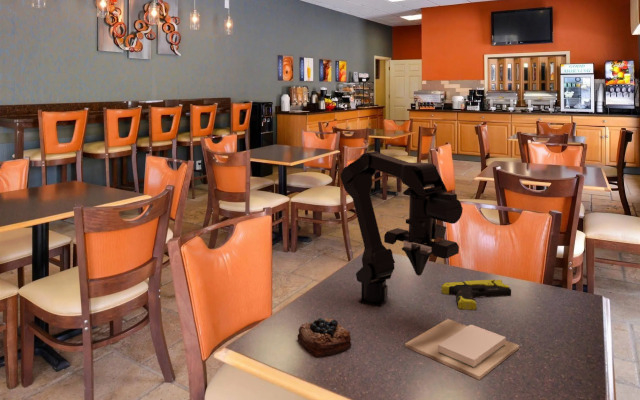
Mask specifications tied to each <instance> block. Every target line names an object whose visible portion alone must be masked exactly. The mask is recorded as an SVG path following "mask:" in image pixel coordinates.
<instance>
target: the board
mask: <svg viewBox="0 0 640 400" xmlns="http://www.w3.org/2000/svg"><path fill="white" fill-rule="evenodd" d="M467 326H468V325H465V324H464V323H460V322H458V321H455V320H452V319H449V318H447V319H445V320H444V321H442V322H440V323H438V324H437V325H435V326H433V327H432V328H429V329H427V330H426V331H424V332H423V333H421V334H419V335H417V336H415V337H414V338H412V339H411V340H409V341H407V342H405V344H404V347H405V348H406V349H407V348H408V349H409V350H410V351H414V352H416V353H418V354H420V355H422V356H425V357H428V358H429V359H432V360H434V361H436V362H438V363H440V364H443V365H445V366H447V367H449V368H452V369H454V370H456V371H458V372H461V373H462V374H465V375H467V376H470V377H472V378H474V379H477V381H478V380H479V381H480V380H481V379H482V378H484V377H485V376H487V374H489V373H490V372H491V371H492V370H494V369H495V368H497V367H498V366H499V365H500V364H501V363H503V362H504V361H505V360H506V359H508V358H509V357H511V356H512V355H513V354H514V353H516V352H517V351H518V350H519V349H520V345H519V344H517V343H514V342H511V341H508V340H506V342H505V344H504V346H502V347H501V348H500V349H498V350H497V351H496V352H494V353H493V354H492V355H490V356H489V357H487V358H486V359H485V360H483V361H482V362H481V363H479V364H478V365H477V366H475V367H471V366H469V365H467V364H464V363H462V362H460V361H457V360H455V359H453V358H451V357H448V356H446V355H444V354H441V353H439V352H438V345H439V344H440V343H442V342H443V341H445V340H447V339H448V338H450V337H451V336H453V335H455V334H456V333H458V332H459V331H461V330H463V329H464V328H466V327H467Z"/></svg>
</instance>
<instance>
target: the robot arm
mask: <svg viewBox="0 0 640 400" xmlns="http://www.w3.org/2000/svg"><path fill="white" fill-rule="evenodd" d="M377 172H382V173H384V174H387V175H390V176H392V177H395V178H398V179H399V180H401V182H402V184H403V185H405V186H406V187H408V188H406V189H405V190H404V191H403V192H402V195H404V196H409V206H408V207H409V208H408V209H409V211H408V212H409V213H408V218H406V219H405V224H406V225H408V230H407V229H403V228H399V227H397V228H393V229H391V230H390V229H389V230H387V231H386V232H385V234H384V235H383V238H384V240H383V241H384V243H385V244H389V245H395V244H396V243H397V241H400V242H403V247H401V251H403V252H404V253H405V254H406V256H407V258H408V260H409V262H410V264H411V266H412V268H413V270H414V272H415V275H416V276H418V277H419V276H422V274H423V272H424V270H425V268H426V265H427V263H428V261H429V259H430V257H431V256H432V255H433V257H436V258H440V259H449V258H451V257H454V256H456V255H458V254H459V253H460V252H459V250H460V246H459V244H458V242H456V241H452V240H448V239H445V235H446V232H447V226H445V225H441V224H437V221H440V222H444V223H447V224H451V225H454V224H456V223H457V222H458V221H460V219H461V218H462V215H463V206H462V203H461V201H460V200H459V199H458V195H457V193H453V192H452V193H448V189H447V187H446V184H445V183H444V180H443V179H442V177H441V174H440V173H439V171H438V168H437V166H436V165H435V164H434V163H430V162H410V161H406V160H402V159H399V158H397V157H393V156H390V155H387V154H383V153H381V152H379V151H367V152H364V153H363V154H361V155H360V156H359V157H358V158H357V159H354V161H352V162H350V163H349V164H348V165H346V166H345V167H343V169H342V171H341V173H340V180H341V182H342V183H341V184H342V185H343V189H344V191H345V192H346V193H347V194H348V195H349V196H350V197H351V199H352V202H353V205H354V210H355V214H356V218H357V222H358V225H359V230H360V234H361V239H362V243H363V246H364V250H363V254H362V257H361V263H362V264H361V265H362V267H361V268H360V269H358V271H357V272H356V273H355V277H356V280H357V282H359V283H361V287H360V288H361V292H360V293H361V298H360V299H359V300H358V301H359V303H362V304H367V305H372V306H378V307H381V306H382V305H383V304H384V303H385V302H386V301H387V300H388V298H389V297H388V293H389V291H388V287H389V286H388V285H387V280H391V277H392V275H393V272H394V270H395V263H396V261H395V259H394V256H393V251H392V249H391V248H387V247H385V245H384V244H383V242H382V238H381V234H380V230H379V226H378V223H377V218H376V213H375V210H374V205H373V202H372V199H371V198H372V197H371V191H372V188H373V183H374V182H373V177H374V176H375V175H376V174H377ZM438 238H439V239H442V240H439V241H434V240H438Z"/></svg>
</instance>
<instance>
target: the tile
mask: <svg viewBox="0 0 640 400" xmlns="http://www.w3.org/2000/svg"><path fill="white" fill-rule="evenodd" d="M466 326H467V327H466V328H464V329H463V330H461V331H459V332H458V333H456V334H455V335H453V336H451V337H450V338H448V339H447V340H445V341H443V342H442V343H440V344H439V345H438V352H439V353H441V354H444V355H446V356H448V357H451V358H453V359H455V360H457V361H460V362H462V363H464V364H467V365H469V366H471V367H475V366H477V365H478V364H479V363H481V362H482V361H483V360H485V359H486V358H487V357H489V356H490V355H492V354H493V353H494V352H496V351H497V350H498V349H500V348H501V347H502V346H504V344H505V342H506V341H507V340H506V338H507V337H506V336H504V335H501V334H499V333H495V332H493V331H490V330H487V329H484V328H482V327H479V326H476V325H473V324H469V325H466Z"/></svg>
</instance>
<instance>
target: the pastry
mask: <svg viewBox="0 0 640 400" xmlns="http://www.w3.org/2000/svg"><path fill="white" fill-rule="evenodd" d="M297 341H298V343H300V344H301V346H302V347H303V348H304V349H305V350H306V351H307V352H309V354H310V356H311V357H315V358H323V357H327V356H328V357H329V356H331V355H335V354H336V355H337V354H339V353H340V352H344V351H346V350H348V349H351V348H352V342H351V341H352V338H351V332H350V331H348V330H347V329H345V328H344V327H343V326H342V325H340V324H339V323H338V320H337V319H333V318H326V317H325V318H321V317H320V318H317V319H315V320H314V321H312V322H306V323H302V324H301V325H300V326H299V327H298V334H297Z"/></svg>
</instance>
